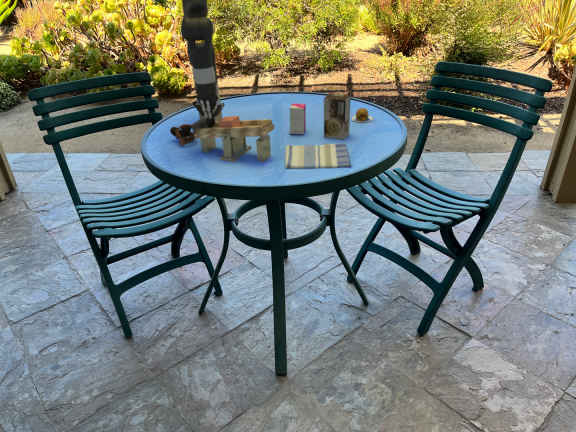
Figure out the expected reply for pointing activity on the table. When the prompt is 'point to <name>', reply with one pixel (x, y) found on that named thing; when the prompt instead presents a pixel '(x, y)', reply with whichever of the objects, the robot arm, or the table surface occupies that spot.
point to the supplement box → (297, 119)
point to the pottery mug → (183, 134)
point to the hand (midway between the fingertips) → (211, 127)
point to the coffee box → (336, 116)
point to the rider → (229, 122)
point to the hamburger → (362, 115)
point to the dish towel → (317, 156)
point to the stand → (238, 147)
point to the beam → (233, 129)
